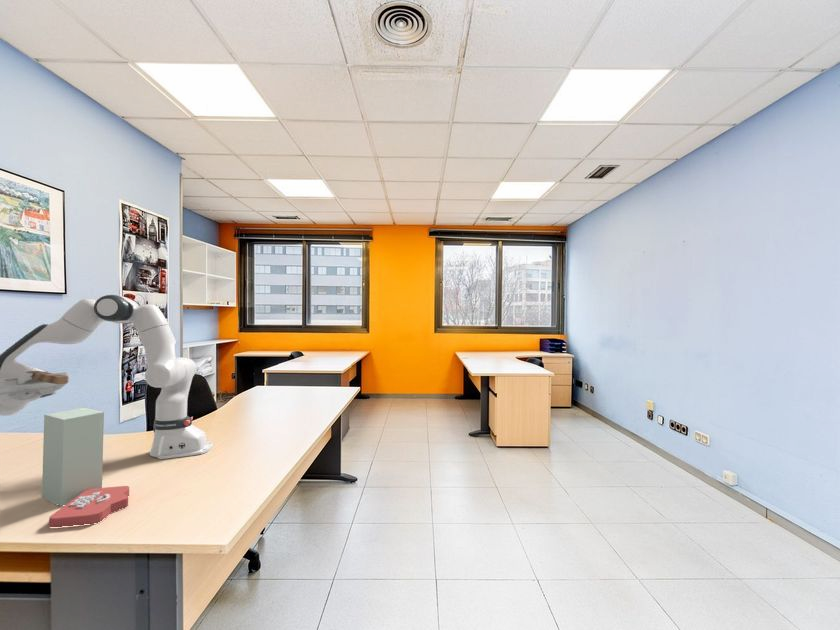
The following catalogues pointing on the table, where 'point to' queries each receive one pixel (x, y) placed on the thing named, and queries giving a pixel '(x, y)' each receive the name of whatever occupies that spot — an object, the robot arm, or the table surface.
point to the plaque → (91, 506)
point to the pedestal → (72, 454)
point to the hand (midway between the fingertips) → (38, 374)
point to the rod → (49, 377)
